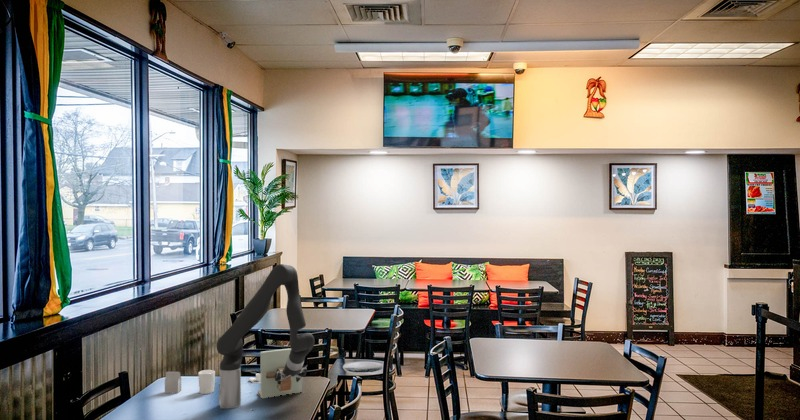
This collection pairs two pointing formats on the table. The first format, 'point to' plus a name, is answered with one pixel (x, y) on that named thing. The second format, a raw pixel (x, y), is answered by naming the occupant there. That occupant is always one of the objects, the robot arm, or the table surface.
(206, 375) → the white cup
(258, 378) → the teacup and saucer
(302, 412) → the table surface
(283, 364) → the wall board
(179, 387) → the grey brown rectangular block
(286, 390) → the wall cabinet
